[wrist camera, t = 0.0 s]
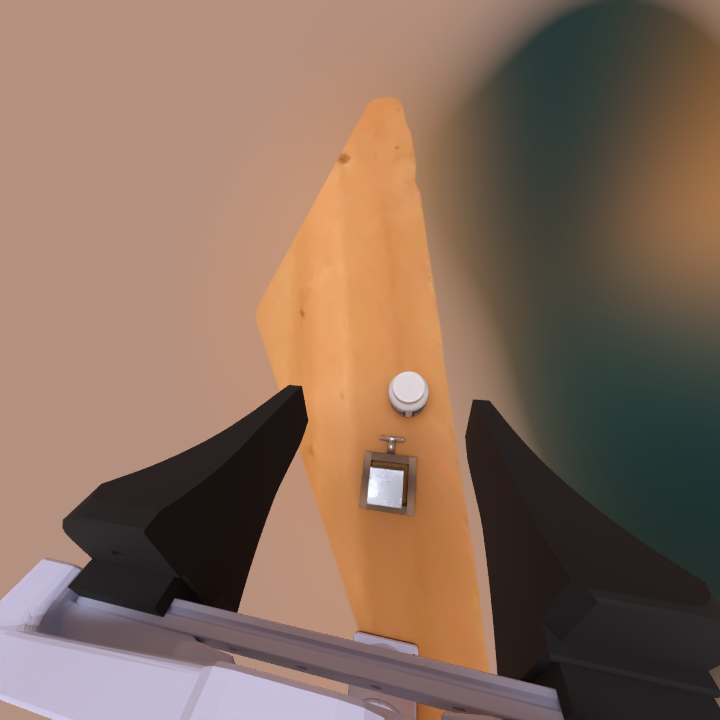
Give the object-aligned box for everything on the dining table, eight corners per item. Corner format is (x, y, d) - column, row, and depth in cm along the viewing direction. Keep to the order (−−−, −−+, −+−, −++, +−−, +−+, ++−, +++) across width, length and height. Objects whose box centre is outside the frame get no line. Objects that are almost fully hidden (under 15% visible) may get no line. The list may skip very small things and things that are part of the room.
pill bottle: (423, 382, 44) (428, 364, 35) (427, 416, 43) (433, 406, 34) (389, 384, 45) (385, 367, 36) (391, 418, 44) (388, 409, 34)
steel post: (402, 498, 40) (401, 508, 32) (374, 493, 41) (367, 503, 33) (403, 468, 41) (403, 471, 34) (376, 464, 42) (370, 467, 34)
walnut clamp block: (413, 513, 39) (414, 516, 37) (361, 505, 40) (359, 507, 38) (417, 439, 42) (417, 438, 40) (368, 434, 43) (366, 433, 41)
